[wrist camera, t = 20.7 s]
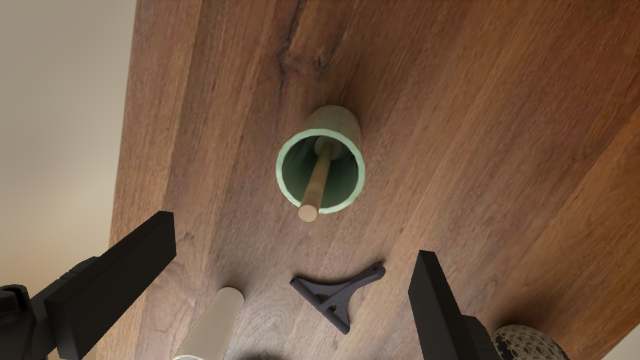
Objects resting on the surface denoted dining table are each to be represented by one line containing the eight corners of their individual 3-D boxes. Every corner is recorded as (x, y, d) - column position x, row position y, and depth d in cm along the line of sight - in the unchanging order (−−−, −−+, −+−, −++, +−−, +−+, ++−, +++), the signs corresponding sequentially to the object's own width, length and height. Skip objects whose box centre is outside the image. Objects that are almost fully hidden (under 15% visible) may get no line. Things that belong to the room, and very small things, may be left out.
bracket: (408, 290, 53) (411, 301, 50) (343, 329, 57) (343, 341, 55) (354, 233, 50) (354, 242, 47) (290, 278, 54) (287, 289, 52)
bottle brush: (314, 134, 44) (274, 208, 21) (333, 119, 43) (311, 181, 20) (329, 152, 44) (304, 242, 22) (348, 138, 43) (342, 218, 21)
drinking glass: (213, 307, 59) (169, 383, 45) (214, 279, 56) (168, 350, 42) (247, 314, 58) (214, 392, 44) (250, 286, 56) (215, 360, 42)
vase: (291, 128, 45) (257, 164, 29) (337, 92, 42) (327, 109, 26) (326, 172, 46) (313, 228, 31) (372, 139, 44) (383, 182, 28)
